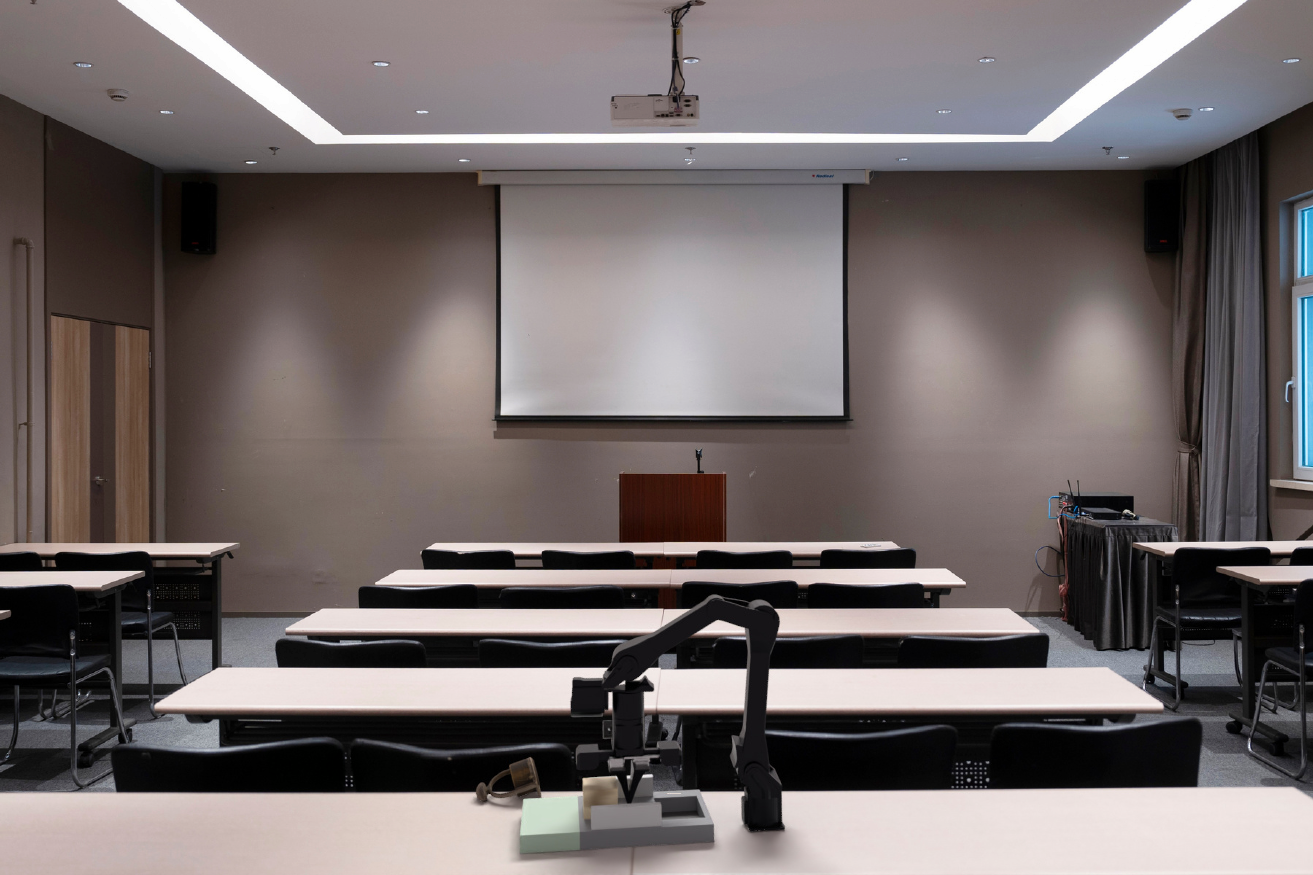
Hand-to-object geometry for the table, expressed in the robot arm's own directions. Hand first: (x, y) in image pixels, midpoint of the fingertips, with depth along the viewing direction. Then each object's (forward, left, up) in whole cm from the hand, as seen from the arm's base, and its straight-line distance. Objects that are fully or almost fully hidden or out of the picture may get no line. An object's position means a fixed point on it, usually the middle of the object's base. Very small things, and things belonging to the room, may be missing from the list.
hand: (629, 803), depth 160 cm
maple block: (+5, 0, -1) cm, 5 cm away
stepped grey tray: (+2, 0, -4) cm, 5 cm away
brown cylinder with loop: (+22, -18, -5) cm, 29 cm away
